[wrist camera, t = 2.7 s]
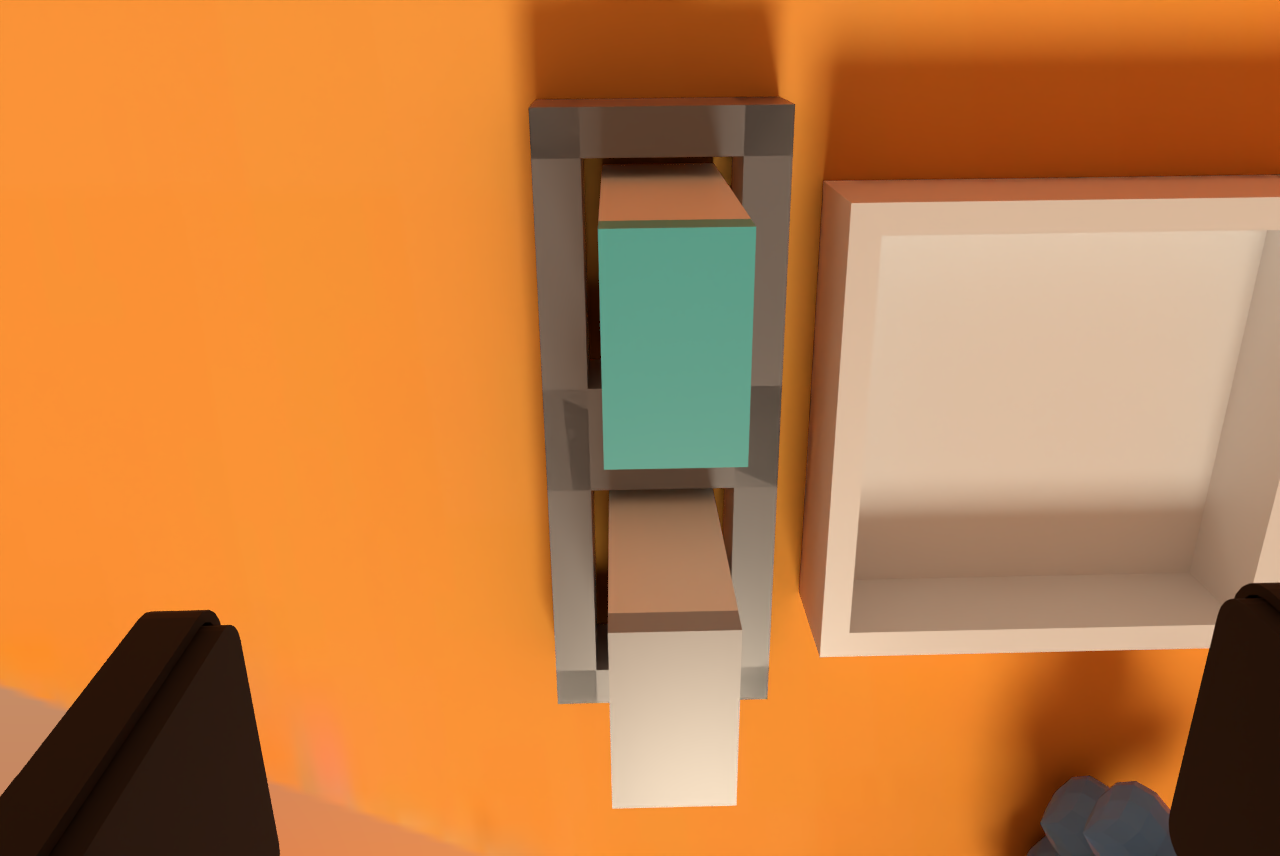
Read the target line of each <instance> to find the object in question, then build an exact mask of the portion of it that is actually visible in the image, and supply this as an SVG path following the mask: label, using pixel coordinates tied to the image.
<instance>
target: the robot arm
mask: <svg viewBox="0 0 1280 856" xmlns="http://www.w3.org/2000/svg"><path fill="white" fill-rule="evenodd" d="M1169 834H1170V838H1171V843H1172V845H1173V848H1174V851H1175V853H1176V855H1177V856H1280V582H1275V583H1249V584H1247V585H1244V586H1242V587H1241V588H1240V590H1239V591H1238V592H1237V593H1236V595H1235V597H1234V599H1229V600H1227V601H1225V602H1224V603H1223V604H1222V606H1221V607H1220V610H1219V612H1218V615H1217V619H1216V623H1215V627H1214V632H1213V636H1212V640H1211V644H1210V648H1209V652H1208V657H1207V661H1206V665H1205V669H1204V673H1203V677H1202V681H1201V686H1200V690H1199V694H1198V698H1197V702H1196V706H1195V710H1194V715H1193V719H1192V723H1191V727H1190V731H1189V735H1188V739H1187V744H1186V748H1185V752H1184V756H1183V760H1182V764H1181V768H1180V773H1179V777H1178V781H1177V785H1176V789H1175V793H1174V797H1173V802H1172V806H1171V810H1170V814H1169ZM0 856H280V850H279V841H278V836H277V831H276V825H275V820H274V815H273V810H272V804H271V799H270V794H269V789H268V783H267V778H266V772H265V767H264V762H263V757H262V751H261V746H260V741H259V735H258V730H257V725H256V720H255V714H254V709H253V704H252V698H251V693H250V688H249V683H248V677H247V672H246V667H245V661H244V656H243V651H242V646H241V640H240V637H239V633H238V631H237V629H236V628H235V627H234V626H232V625H221V624H220V621H219V619H218V617H217V616H216V614H215V613H214V612H212V611H210V610H193V611H154V612H148V613H145V614H144V615H143V616H142V617H140V618H139V619H138V621H137V622H136V623H135V625H134V626H133V627H132V628H131V630H130V631H129V632H128V634H127V635H126V636H125V638H124V639H123V640H122V641H121V643H120V644H119V645H118V647H117V648H116V649H115V650H114V652H113V653H112V654H111V656H110V657H109V658H108V659H107V661H106V662H105V663H104V665H103V666H102V667H101V668H100V670H99V671H98V672H97V674H96V675H95V676H94V677H93V679H92V680H91V681H90V683H89V684H88V685H87V687H86V688H85V689H84V690H83V692H82V693H81V694H80V696H79V697H78V698H77V699H76V701H75V702H74V703H73V705H72V706H71V707H70V708H69V710H68V711H67V712H66V714H65V715H64V716H63V717H62V719H61V720H60V721H59V723H58V724H57V725H56V727H55V728H54V729H53V730H52V732H51V733H50V734H49V736H48V737H47V738H46V739H45V741H44V742H43V743H42V745H41V746H40V747H39V749H38V750H37V751H36V752H35V754H34V755H33V756H32V758H31V759H30V760H29V761H28V763H27V764H26V765H25V767H24V768H23V769H22V770H21V772H20V773H19V774H18V775H17V776H16V777H15V778H14V780H13V781H12V782H11V784H10V785H9V786H8V788H7V789H6V790H5V792H4V793H3V794H2V795H1V796H0Z"/></svg>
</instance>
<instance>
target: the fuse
mask: <svg viewBox="0 0 1280 856" xmlns="http://www.w3.org/2000/svg"><path fill="white" fill-rule="evenodd" d="M741 653H742V626H741V622H740V617H739V612H738V607H737V603H736V598H735V593H734V588H733V583H732V579H731V574H730V569H729V564H728V559H727V555H726V550H725V545H724V540H723V536H722V531H721V526H720V521H719V516H718V512H717V507H716V502H715V497H714V492H713V488H691V489H640V490H609V566H608V657H609V696H610V735H611V775H612V808H651V807H690V806H730V805H736V799H737V769H738V740H739V711H740V682H741Z"/></svg>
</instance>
